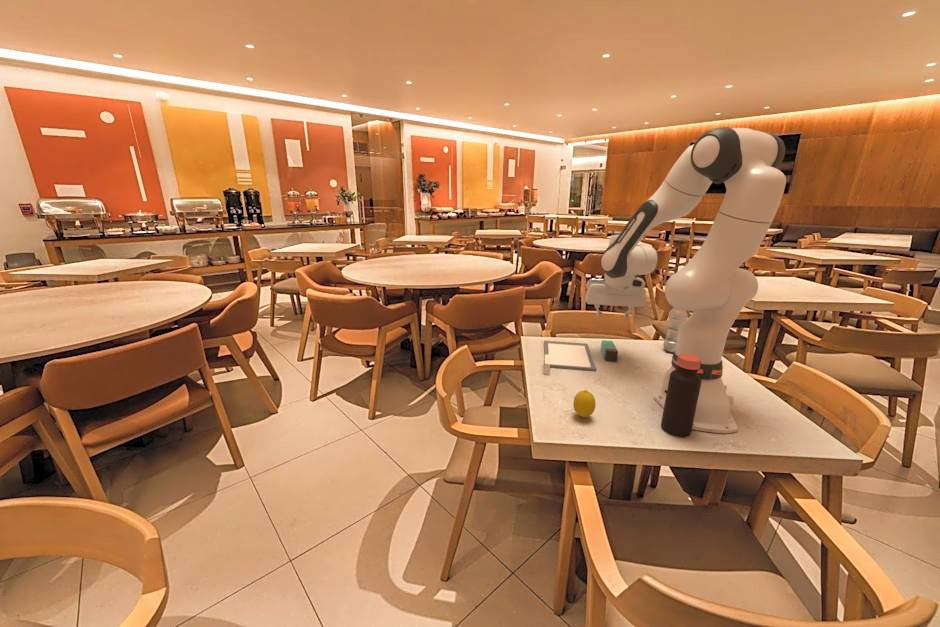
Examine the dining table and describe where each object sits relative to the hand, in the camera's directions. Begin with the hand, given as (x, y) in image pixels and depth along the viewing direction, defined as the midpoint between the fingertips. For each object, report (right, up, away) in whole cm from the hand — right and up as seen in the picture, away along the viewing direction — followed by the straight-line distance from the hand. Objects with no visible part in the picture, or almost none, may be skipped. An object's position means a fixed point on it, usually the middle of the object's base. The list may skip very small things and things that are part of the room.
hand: (612, 316), depth 136 cm
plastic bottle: (+26, -14, +9) cm, 31 cm away
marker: (0, -15, +4) cm, 15 cm away
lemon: (-22, -27, -36) cm, 50 cm away
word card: (-26, -18, -8) cm, 32 cm away
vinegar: (0, -29, -41) cm, 50 cm away
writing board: (-15, -14, +4) cm, 21 cm away
